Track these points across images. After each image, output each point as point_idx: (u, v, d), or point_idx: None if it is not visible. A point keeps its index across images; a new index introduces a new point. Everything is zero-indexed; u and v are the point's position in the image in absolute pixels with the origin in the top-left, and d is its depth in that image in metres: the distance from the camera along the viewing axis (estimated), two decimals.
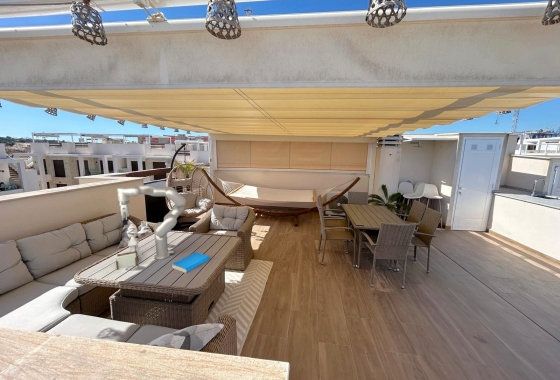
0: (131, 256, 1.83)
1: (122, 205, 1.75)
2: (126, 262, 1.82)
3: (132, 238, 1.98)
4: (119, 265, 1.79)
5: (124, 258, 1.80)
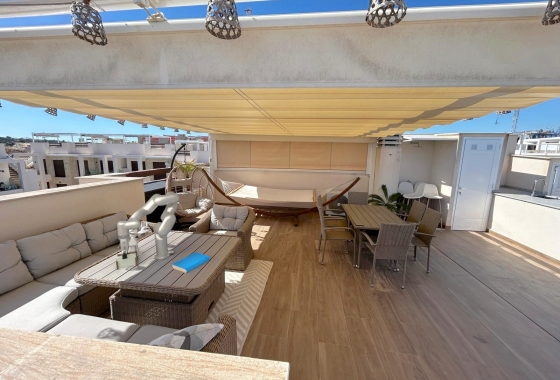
0: (131, 256, 1.83)
1: (122, 239, 1.75)
2: (126, 262, 1.82)
3: (132, 238, 1.98)
4: (119, 265, 1.79)
5: None
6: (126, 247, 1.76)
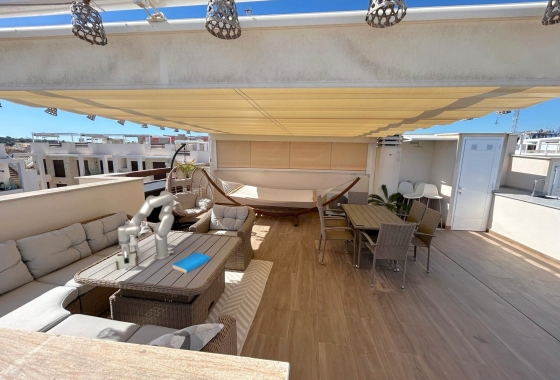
0: (131, 256, 1.83)
1: (123, 245, 1.76)
2: None
3: (132, 238, 1.98)
4: (119, 265, 1.79)
5: None
6: (127, 252, 1.77)
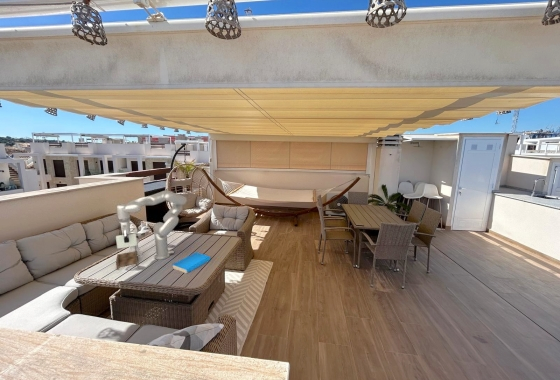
0: (131, 236, 1.79)
1: (122, 223, 1.72)
2: None
3: None
4: (119, 244, 1.76)
5: None
6: (127, 230, 1.74)
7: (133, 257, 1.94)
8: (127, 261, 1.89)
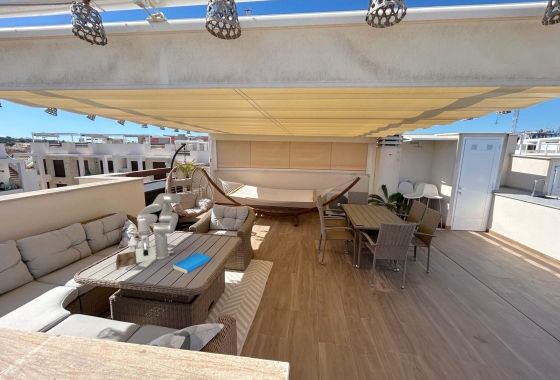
0: (150, 249, 1.76)
1: (143, 236, 1.69)
2: None
3: (132, 238, 1.98)
4: (138, 258, 1.72)
5: None
6: (147, 244, 1.70)
7: (133, 257, 1.94)
8: (127, 261, 1.89)
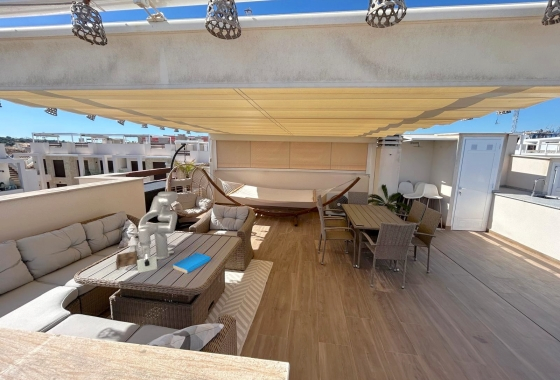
0: (151, 259, 1.78)
1: (144, 246, 1.71)
2: (147, 266, 1.77)
3: (132, 238, 1.98)
4: (140, 269, 1.75)
5: None
6: (148, 254, 1.72)
7: (133, 257, 1.94)
8: (127, 261, 1.89)
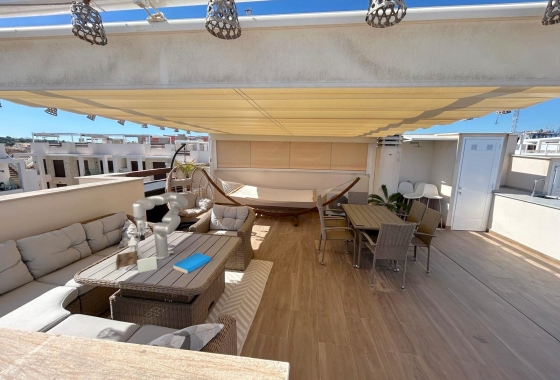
0: (151, 259, 1.78)
1: (139, 221, 1.72)
2: (147, 266, 1.77)
3: (132, 238, 1.98)
4: (140, 269, 1.75)
5: (145, 261, 1.76)
6: (143, 228, 1.74)
7: (133, 257, 1.94)
8: (127, 261, 1.89)
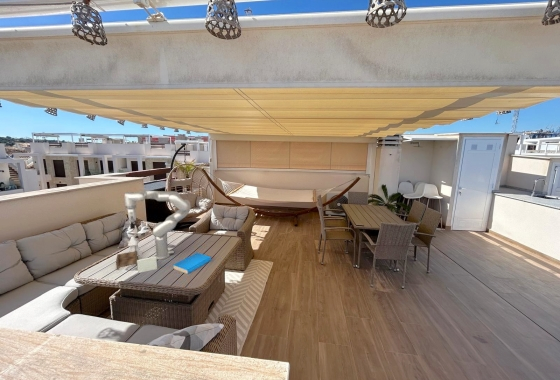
0: (151, 259, 1.78)
1: (129, 210, 1.82)
2: (147, 266, 1.77)
3: (132, 238, 1.98)
4: (140, 269, 1.75)
5: (145, 261, 1.76)
6: (133, 217, 1.84)
7: (133, 257, 1.94)
8: (127, 261, 1.89)
